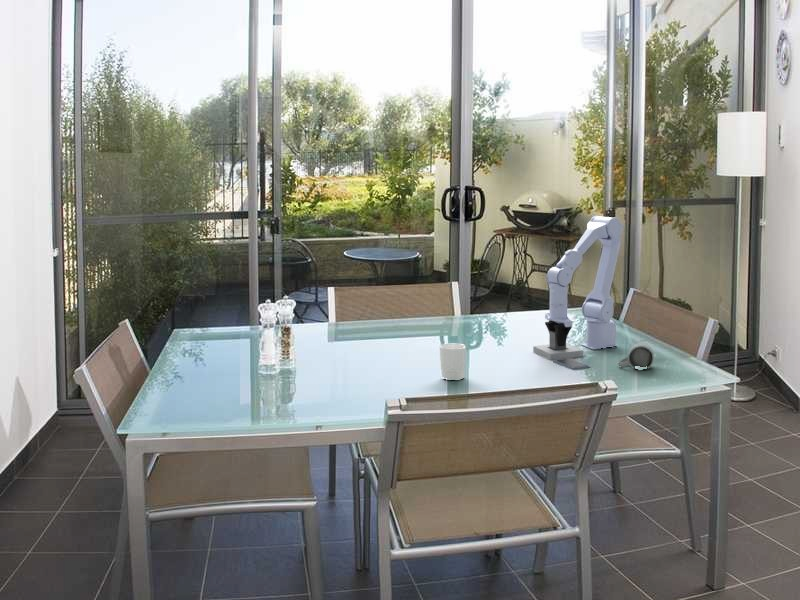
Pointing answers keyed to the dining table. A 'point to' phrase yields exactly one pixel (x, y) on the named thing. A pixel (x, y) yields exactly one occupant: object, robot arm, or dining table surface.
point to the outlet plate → (558, 352)
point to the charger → (555, 342)
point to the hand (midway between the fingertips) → (558, 344)
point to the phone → (571, 363)
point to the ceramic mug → (638, 356)
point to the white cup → (453, 360)
